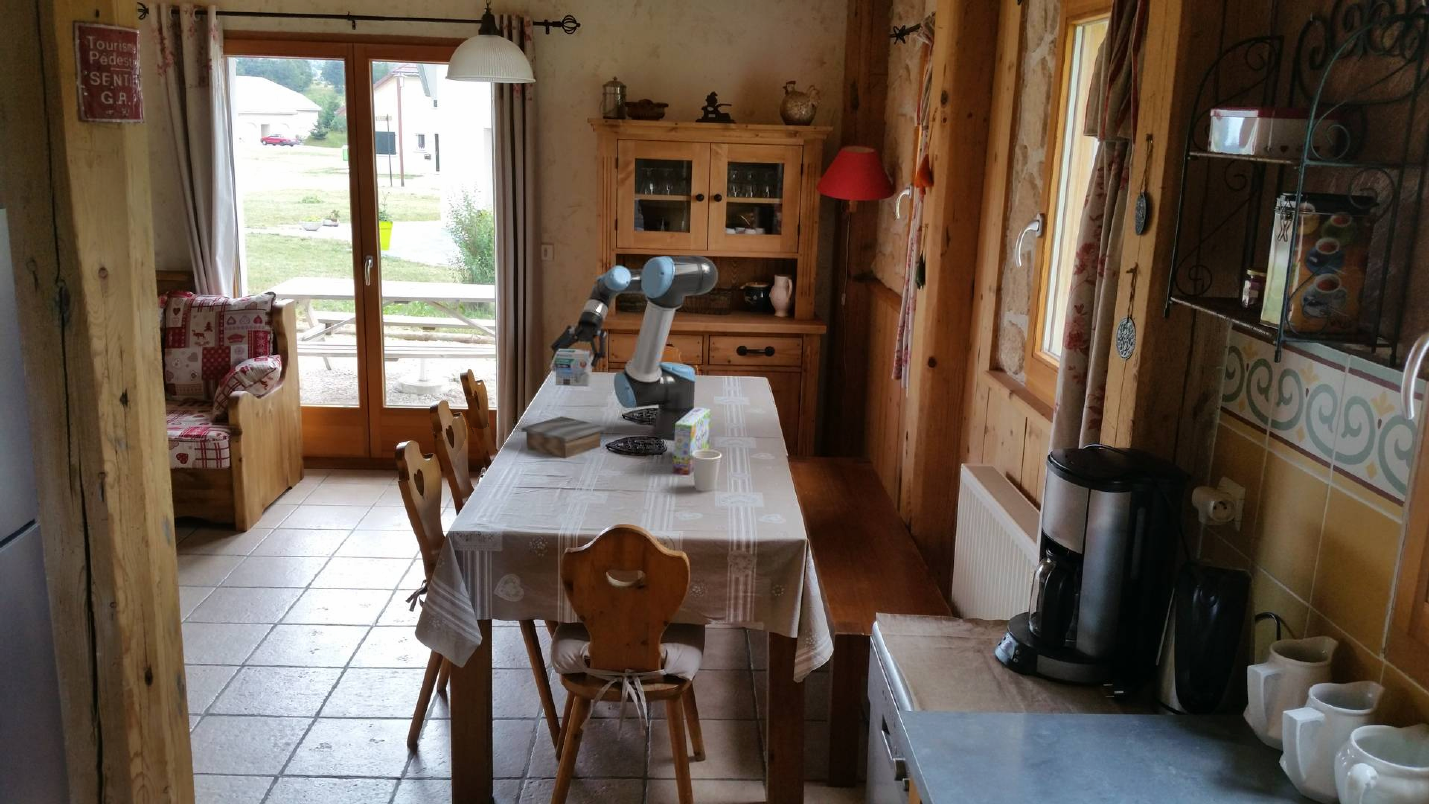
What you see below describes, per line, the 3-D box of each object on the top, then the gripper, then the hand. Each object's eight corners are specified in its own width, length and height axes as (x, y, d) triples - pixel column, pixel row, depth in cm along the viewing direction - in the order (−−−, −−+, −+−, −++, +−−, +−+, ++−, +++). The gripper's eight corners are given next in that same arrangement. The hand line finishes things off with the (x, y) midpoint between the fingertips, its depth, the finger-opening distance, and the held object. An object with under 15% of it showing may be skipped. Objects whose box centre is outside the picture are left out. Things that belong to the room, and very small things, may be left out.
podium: (605, 446, 335) (605, 426, 334) (565, 459, 321) (565, 438, 319) (561, 435, 345) (561, 416, 343) (521, 448, 330) (521, 427, 329)
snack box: (690, 475, 310) (692, 425, 306) (671, 473, 311) (673, 423, 308) (709, 455, 330) (711, 407, 326) (691, 453, 331) (693, 406, 328)
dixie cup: (709, 495, 294) (711, 460, 291) (684, 489, 298) (685, 454, 296) (725, 487, 301) (727, 453, 298) (700, 481, 305) (701, 447, 303)
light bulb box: (555, 385, 344) (555, 352, 341) (558, 380, 351) (557, 348, 348) (588, 386, 344) (588, 353, 341) (591, 381, 351) (591, 349, 348)
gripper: (629, 327, 353) (606, 382, 343) (564, 320, 361) (541, 373, 351) (621, 313, 346) (598, 369, 337) (556, 306, 355) (532, 360, 345)
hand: (569, 371), depth 344 cm, fingers closed on light bulb box, 12 cm apart
